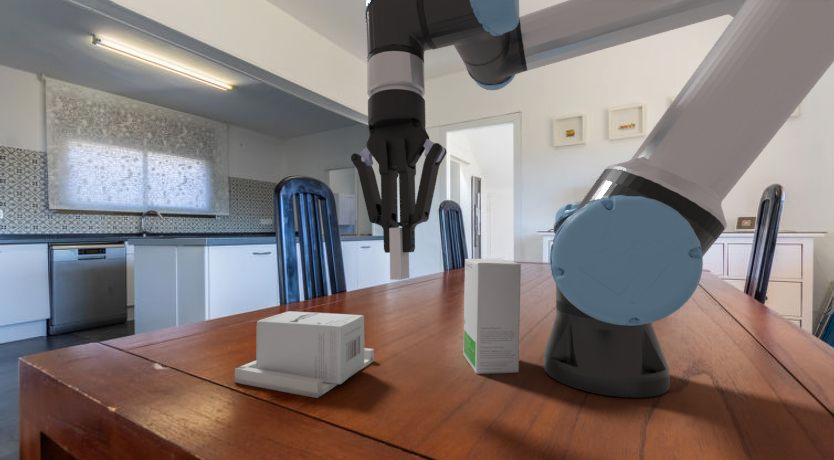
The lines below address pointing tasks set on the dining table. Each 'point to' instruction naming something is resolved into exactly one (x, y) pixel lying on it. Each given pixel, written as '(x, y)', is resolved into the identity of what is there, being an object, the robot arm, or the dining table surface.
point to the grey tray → (288, 379)
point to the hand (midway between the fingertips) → (400, 278)
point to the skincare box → (492, 315)
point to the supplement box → (311, 345)
